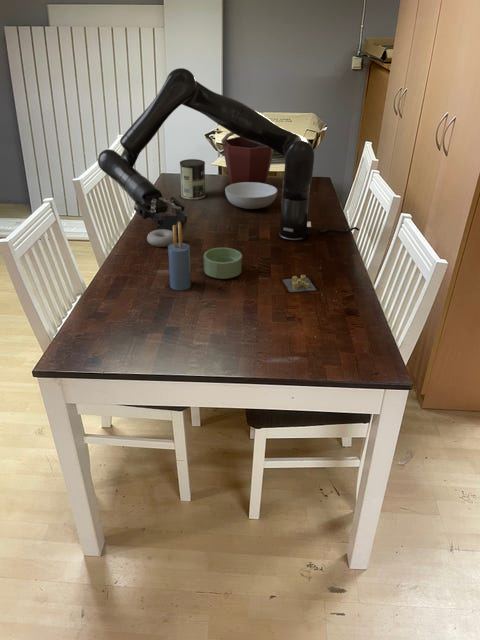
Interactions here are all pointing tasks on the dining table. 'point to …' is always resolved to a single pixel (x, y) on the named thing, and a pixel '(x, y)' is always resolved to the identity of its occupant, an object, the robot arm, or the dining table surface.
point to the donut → (160, 238)
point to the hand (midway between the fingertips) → (174, 221)
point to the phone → (168, 223)
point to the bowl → (222, 263)
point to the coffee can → (192, 179)
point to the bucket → (246, 160)
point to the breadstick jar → (179, 262)
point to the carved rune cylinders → (298, 284)
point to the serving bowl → (250, 194)
